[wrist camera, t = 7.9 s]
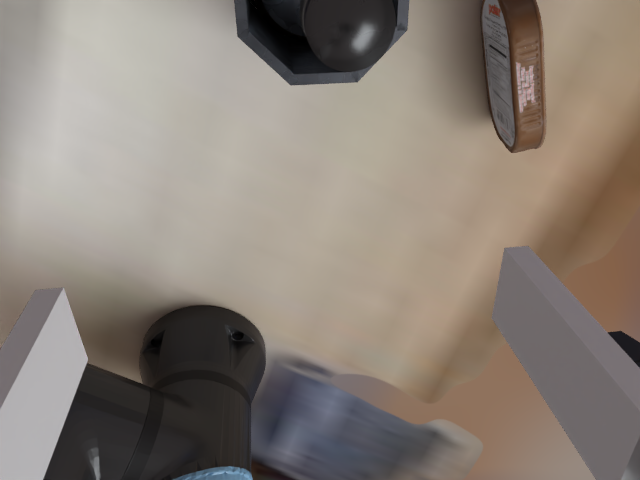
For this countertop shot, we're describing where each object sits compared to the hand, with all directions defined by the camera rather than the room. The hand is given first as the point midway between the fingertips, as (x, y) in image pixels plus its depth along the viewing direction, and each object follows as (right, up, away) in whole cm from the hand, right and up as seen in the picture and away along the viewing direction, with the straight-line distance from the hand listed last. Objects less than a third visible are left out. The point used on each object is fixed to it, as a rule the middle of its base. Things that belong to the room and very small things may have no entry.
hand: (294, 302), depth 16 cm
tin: (+18, +19, +34) cm, 43 cm away
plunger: (0, +22, +24) cm, 33 cm away
